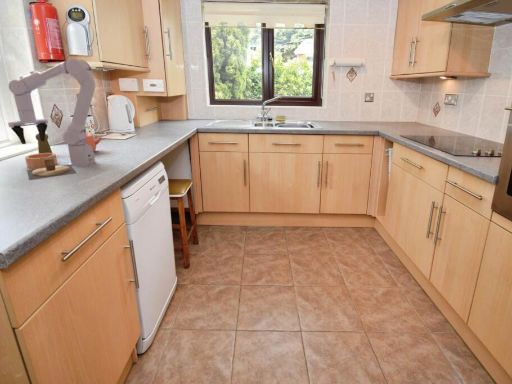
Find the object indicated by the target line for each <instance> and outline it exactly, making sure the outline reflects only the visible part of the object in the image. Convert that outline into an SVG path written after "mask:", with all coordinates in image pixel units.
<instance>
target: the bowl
mask: <svg viewBox="0 0 512 384" xmlns="http://www.w3.org/2000/svg"><path fill="white" fill-rule="evenodd" d="M48 158H53V160H54V164H55V166H57V164H58V159H57V155H56V153H54V152H52V153H39V152H38V153H33V154H29V155H27V156H25V157H24V160H25V164H26V167H27V168H29V169H39V168H43V167H46V166H45V162H44V159H48Z"/></svg>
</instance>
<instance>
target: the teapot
mask: <svg viewBox="0 0 512 384" xmlns="http://www.w3.org/2000/svg"><path fill="white" fill-rule="evenodd" d="M86 134H87V133H86ZM102 140H103V137H101V136H99V137H98V138H97V139H96V140H95V137H94V134H92V133H90V134H89V133H88V134H87V137H86V139H85V141H86V144H87V145H90V146H92V148H93V151H94V152H95V151H96V149H97V146H98V144H99V143H100V142H101V141H102Z"/></svg>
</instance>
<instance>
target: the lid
mask: <svg viewBox="0 0 512 384" xmlns="http://www.w3.org/2000/svg"><path fill="white" fill-rule="evenodd" d="M44 162H45V166H46V167H43V168H35V169H36V170H34V171H32V174H33V175H34V176H52V175H58V174H62V173H65V172H68V171H69V170H70V169H69V167H68V166H63V165H55V164H54V160H53V158H48V159H44Z"/></svg>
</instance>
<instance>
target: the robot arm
mask: <svg viewBox="0 0 512 384" xmlns="http://www.w3.org/2000/svg"><path fill="white" fill-rule="evenodd" d="M64 74H68V75H70V76H72V78H74V79H75V81H77V83H78V85H79V86H80V88H79V92H78V96H77V100H76V103H75V107H74V110H73V111H74V112H73V116H72V119H71V121H70V123H69V124H68V126H67V129H66V130H65V132H64V133H63V135H62V136H63V141H64V142H65V144H66V145H67V148H68V154H69V159H70V162H68V163H66V165H71V166H76V167H77V166H80V167H86V166H88V165H89V166H90V165H91V164H94V163H97V160H96V158H95V153H94V152H95V151H93V148H92V146H90V145H87V144H86V141H85V139H86V137H87V126H86V123H87V120H88V115H89V112H90V107H91V104H92V101H93V97H94V93H95V89H96V82H95V78H94V74H93V68H92V67H91V65H90V64H89V63H88V62H87V61H86V60H83V59H75V58H71V59H68V60H64V61H63V62H60V63H58V64H56V65H54V66H52V67H50V68H49V69H46V70H44V71H42V72H39V71H38V70H37V71H33V70H31V71H30V72H29V74H27V75H25V76H20V77H19V79H12V80H11V81H9V83H8V89H9V91H10V92H11V93H12V94H13V98H14V101H15V105H16V109H17V110H16V111H17V114H18V117H19V118H18V119H19V120H18V121H17V120H16V121H12V122H11V121H10V122H7V124H8V128H10V129H11V130H12V131H13V133H15V135H16V136H17V137H18V139H19V141H20V143H21V144H22V145H26V144H27V142H26V141H27V140H26V138H25V132H24V128H23V127H27V126H35V127H36V129H37V131H38V134H39V136H40V140H41V141H45V133H46V131H47V128H48V124H49V120H48V118H39V119H37V118H36V113H35V109H34V104H33V99H32V94H31V93H32V92H33V91H35V90H38V89H39V88H41V87H42V88H43V87H44V86H46V85H47V82H48V81H49V80H51V79H55V78H56V77H59V76H61V75H64Z"/></svg>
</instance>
